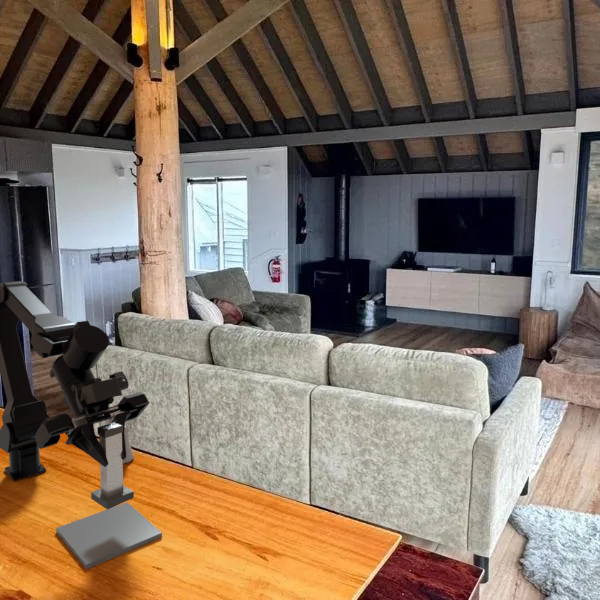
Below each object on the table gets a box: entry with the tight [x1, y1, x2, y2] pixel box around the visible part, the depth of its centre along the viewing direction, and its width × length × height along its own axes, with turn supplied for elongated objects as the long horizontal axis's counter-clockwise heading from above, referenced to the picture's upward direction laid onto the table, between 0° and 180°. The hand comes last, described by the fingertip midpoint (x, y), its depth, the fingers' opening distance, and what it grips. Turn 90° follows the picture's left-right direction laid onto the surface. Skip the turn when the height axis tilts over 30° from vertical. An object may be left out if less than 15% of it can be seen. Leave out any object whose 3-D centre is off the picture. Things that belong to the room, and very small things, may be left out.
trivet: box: [55, 501, 163, 570], centre depth 95 cm, size 13×13×1 cm
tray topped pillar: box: [90, 422, 135, 510], centre depth 93 cm, size 5×5×13 cm
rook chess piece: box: [123, 423, 135, 464], centre depth 122 cm, size 4×4×8 cm
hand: (115, 462), depth 92 cm, fingers closed on tray topped pillar, 3 cm apart
